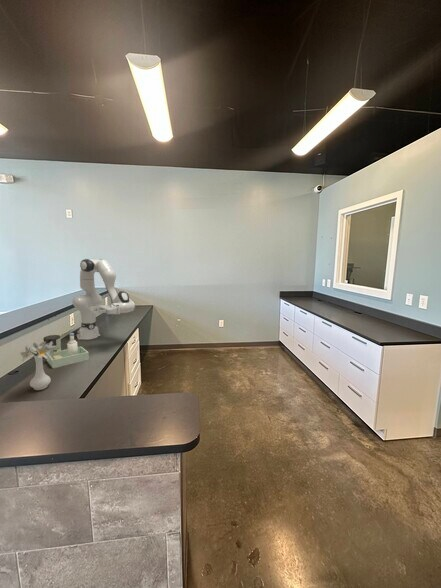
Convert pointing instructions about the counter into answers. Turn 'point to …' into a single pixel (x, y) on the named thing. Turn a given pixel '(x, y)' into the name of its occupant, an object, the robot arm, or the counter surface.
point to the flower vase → (39, 363)
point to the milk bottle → (72, 346)
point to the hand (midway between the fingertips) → (96, 310)
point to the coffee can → (54, 339)
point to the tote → (67, 357)
